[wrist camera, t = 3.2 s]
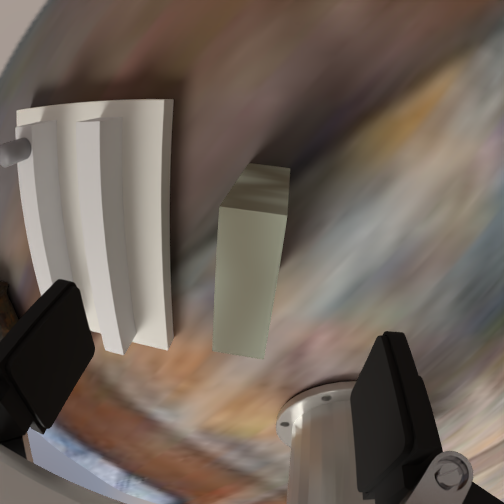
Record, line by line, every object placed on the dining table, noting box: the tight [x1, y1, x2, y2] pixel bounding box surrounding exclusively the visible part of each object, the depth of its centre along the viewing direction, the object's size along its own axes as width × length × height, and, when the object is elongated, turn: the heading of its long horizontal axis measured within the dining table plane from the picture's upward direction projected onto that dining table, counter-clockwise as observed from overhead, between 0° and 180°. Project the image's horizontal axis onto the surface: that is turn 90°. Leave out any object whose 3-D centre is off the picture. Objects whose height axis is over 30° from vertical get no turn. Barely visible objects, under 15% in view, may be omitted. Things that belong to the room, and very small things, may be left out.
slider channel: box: [0, 99, 174, 355], centre depth 19 cm, size 12×18×6 cm, turn 174°
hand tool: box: [0, 281, 19, 341], centre depth 29 cm, size 19×4×5 cm, turn 1°
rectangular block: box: [212, 163, 290, 359], centre depth 16 cm, size 2×7×8 cm, turn 174°
